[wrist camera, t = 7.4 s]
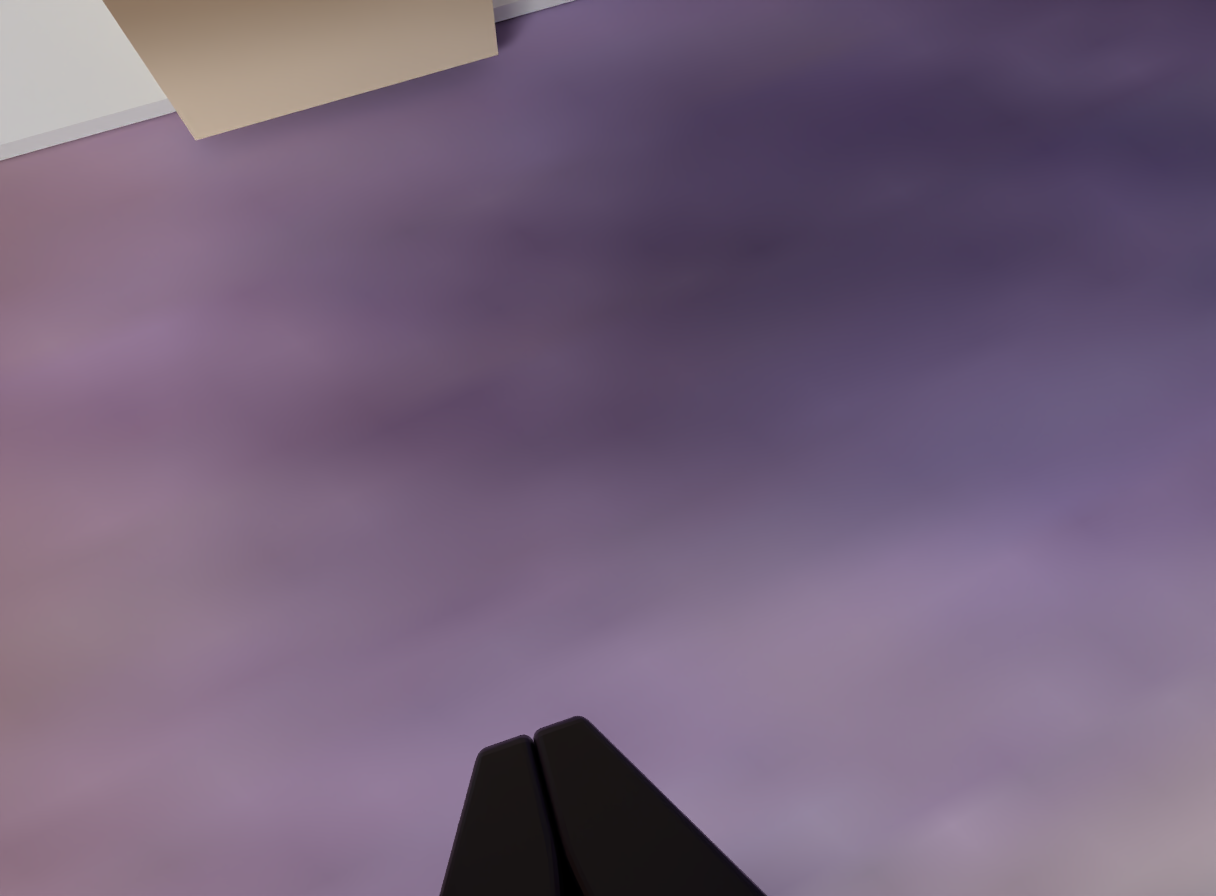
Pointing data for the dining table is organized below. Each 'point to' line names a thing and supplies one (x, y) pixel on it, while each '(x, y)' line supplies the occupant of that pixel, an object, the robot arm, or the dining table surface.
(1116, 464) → the dining table surface
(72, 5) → the mat
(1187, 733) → the dining table surface
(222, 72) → the block
